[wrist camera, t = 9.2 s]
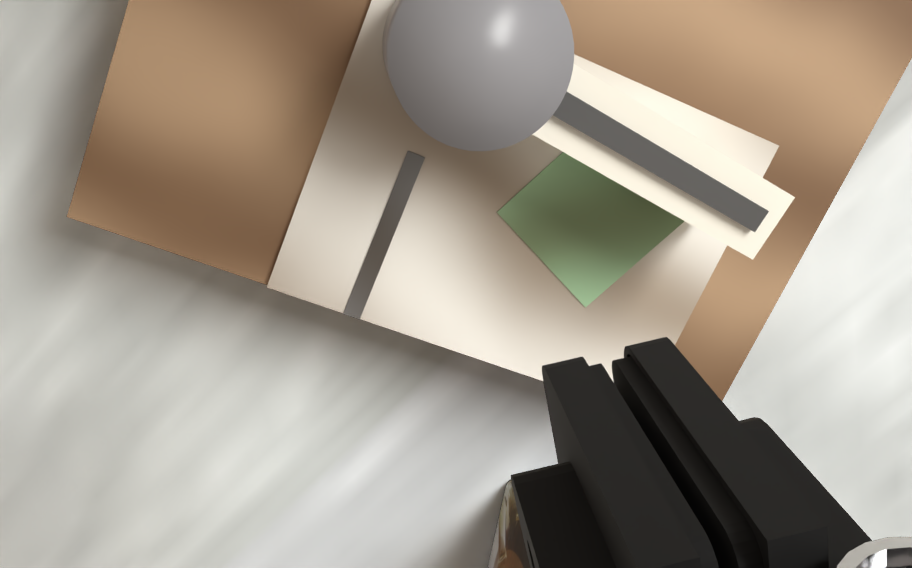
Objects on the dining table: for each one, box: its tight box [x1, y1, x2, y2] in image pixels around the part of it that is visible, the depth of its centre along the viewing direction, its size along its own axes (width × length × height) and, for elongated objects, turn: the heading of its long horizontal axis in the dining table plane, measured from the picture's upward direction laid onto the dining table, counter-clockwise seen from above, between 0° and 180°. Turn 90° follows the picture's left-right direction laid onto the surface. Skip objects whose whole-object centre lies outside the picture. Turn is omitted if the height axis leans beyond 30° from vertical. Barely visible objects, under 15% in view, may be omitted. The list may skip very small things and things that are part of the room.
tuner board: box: [67, 0, 912, 401], centre depth 23 cm, size 16×20×4 cm
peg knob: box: [382, 0, 795, 260], centre depth 20 cm, size 10×4×4 cm, turn 60°
